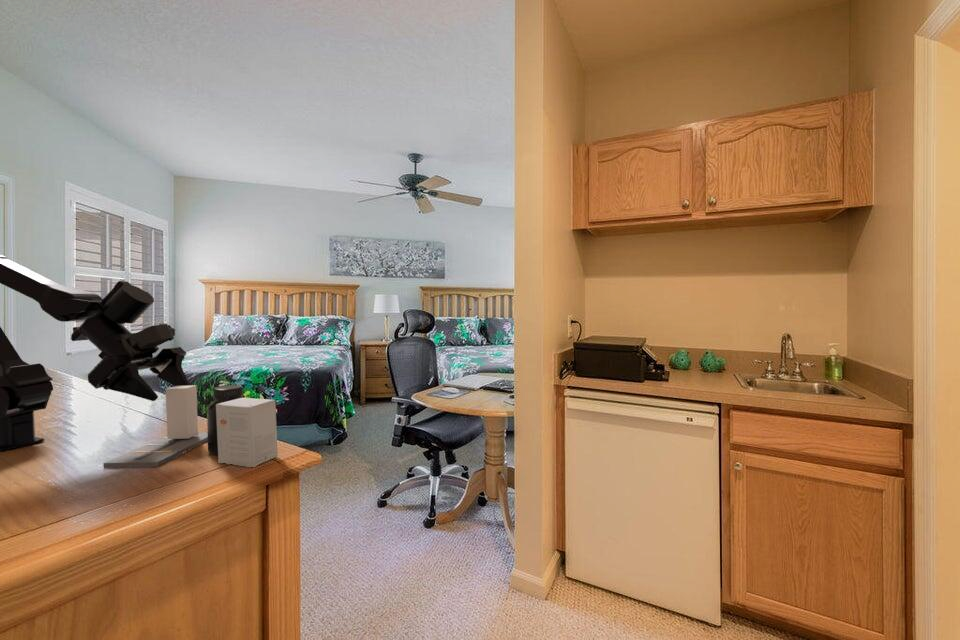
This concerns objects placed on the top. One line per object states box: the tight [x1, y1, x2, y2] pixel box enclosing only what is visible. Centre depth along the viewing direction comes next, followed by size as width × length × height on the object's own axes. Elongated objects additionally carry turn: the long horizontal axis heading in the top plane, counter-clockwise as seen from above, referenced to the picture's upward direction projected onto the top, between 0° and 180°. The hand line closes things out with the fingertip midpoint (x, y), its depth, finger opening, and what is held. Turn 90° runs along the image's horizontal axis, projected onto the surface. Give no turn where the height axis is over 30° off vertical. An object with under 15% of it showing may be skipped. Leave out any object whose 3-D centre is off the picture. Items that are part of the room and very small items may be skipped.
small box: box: [216, 397, 279, 468], centre depth 74 cm, size 8×6×10 cm
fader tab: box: [165, 384, 199, 439], centre depth 84 cm, size 3×4×10 cm
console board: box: [102, 431, 208, 469], centre depth 79 cm, size 17×9×2 cm, turn 1°
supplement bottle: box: [206, 384, 244, 456], centre depth 79 cm, size 7×7×12 cm
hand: (173, 394), depth 84 cm, fingers open, 9 cm apart
